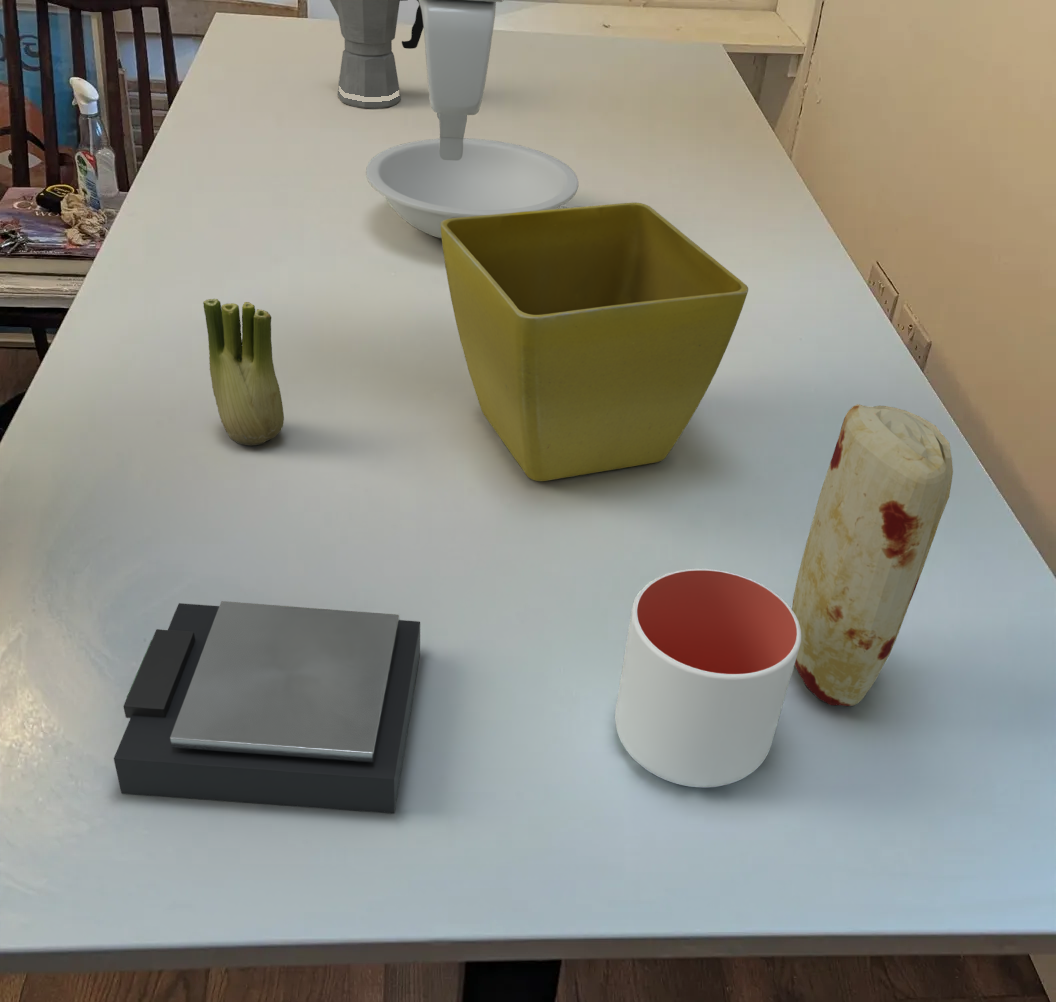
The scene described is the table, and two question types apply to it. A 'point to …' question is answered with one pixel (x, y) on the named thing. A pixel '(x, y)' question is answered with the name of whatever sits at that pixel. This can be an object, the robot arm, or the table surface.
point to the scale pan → (290, 683)
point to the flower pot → (587, 331)
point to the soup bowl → (468, 181)
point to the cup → (705, 676)
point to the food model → (867, 547)
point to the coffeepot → (371, 49)
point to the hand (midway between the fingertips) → (448, 137)
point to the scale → (249, 776)
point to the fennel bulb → (243, 372)
